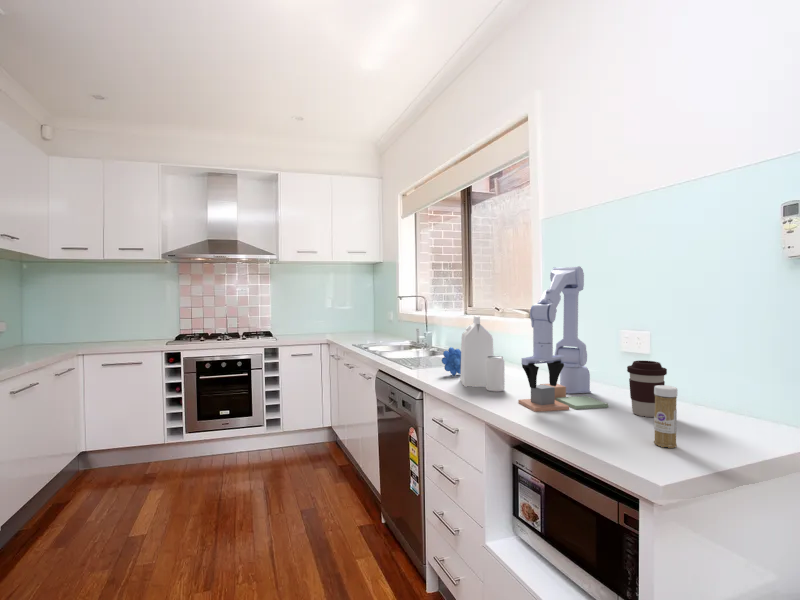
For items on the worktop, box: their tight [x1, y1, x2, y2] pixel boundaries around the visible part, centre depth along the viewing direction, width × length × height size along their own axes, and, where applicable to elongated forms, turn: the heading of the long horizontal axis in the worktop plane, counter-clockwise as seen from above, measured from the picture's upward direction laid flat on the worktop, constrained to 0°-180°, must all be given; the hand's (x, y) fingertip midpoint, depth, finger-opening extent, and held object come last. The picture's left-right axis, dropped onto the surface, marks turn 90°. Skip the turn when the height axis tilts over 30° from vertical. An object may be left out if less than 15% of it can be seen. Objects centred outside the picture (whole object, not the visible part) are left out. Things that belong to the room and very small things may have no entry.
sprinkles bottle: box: [653, 384, 678, 449], centre depth 103 cm, size 5×5×14 cm
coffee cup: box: [626, 360, 668, 418], centre depth 130 cm, size 10×10×15 cm
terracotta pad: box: [517, 398, 570, 413], centre depth 140 cm, size 11×11×1 cm
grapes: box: [441, 346, 461, 376], centre depth 193 cm, size 12×7×12 cm, turn 113°
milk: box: [459, 315, 495, 388], centre depth 175 cm, size 12×12×26 cm
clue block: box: [539, 383, 567, 400], centre depth 151 cm, size 6×6×4 cm
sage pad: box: [556, 395, 609, 410], centre depth 142 cm, size 11×11×1 cm
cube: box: [530, 383, 555, 405], centre depth 140 cm, size 5×5×5 cm
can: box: [485, 355, 506, 393], centre depth 163 cm, size 6×6×12 cm
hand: (543, 386), depth 140 cm, fingers open, 7 cm apart
